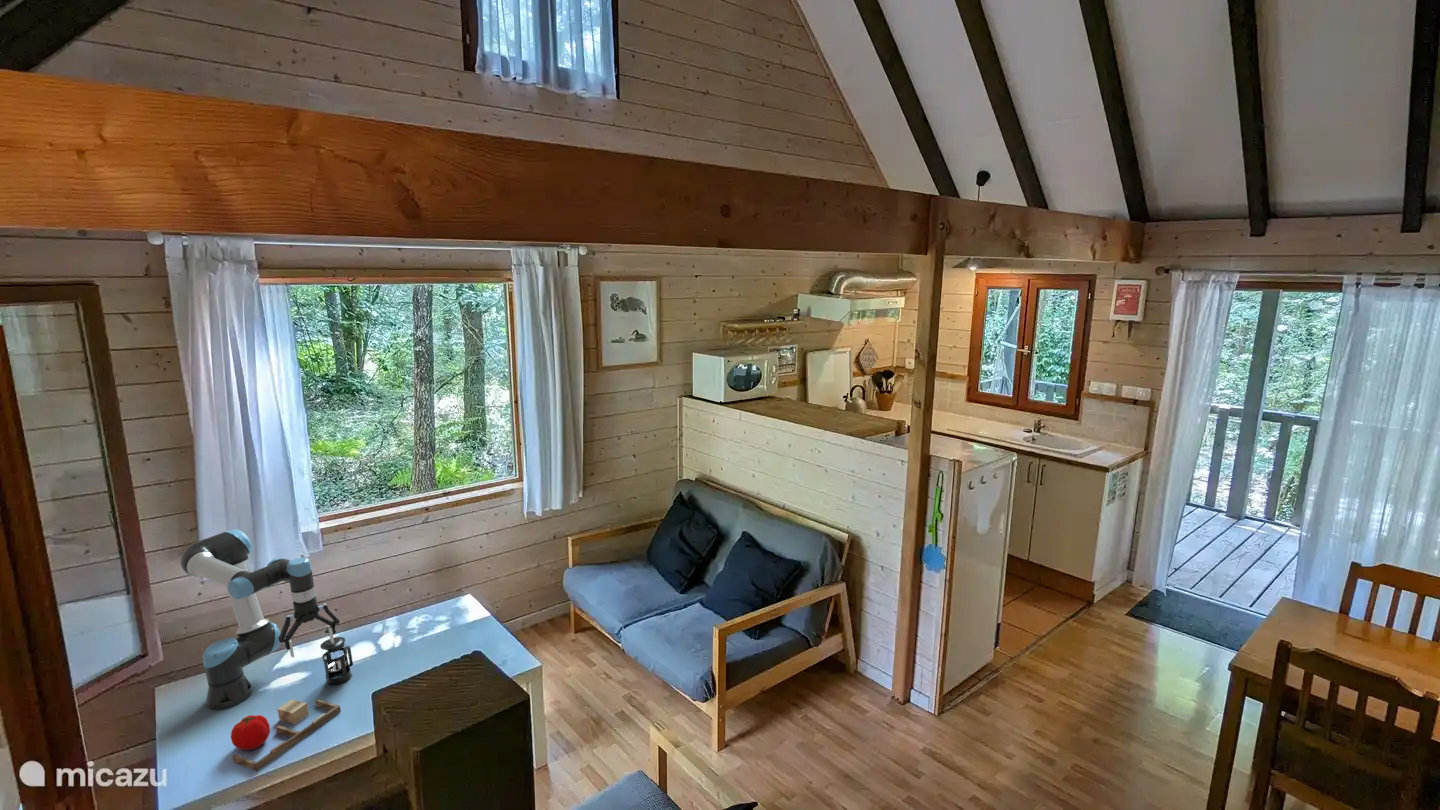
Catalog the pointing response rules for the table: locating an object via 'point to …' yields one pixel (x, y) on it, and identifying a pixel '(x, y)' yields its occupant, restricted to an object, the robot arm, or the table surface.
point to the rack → (290, 733)
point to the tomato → (250, 732)
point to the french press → (336, 661)
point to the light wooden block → (293, 711)
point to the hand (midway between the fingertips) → (312, 648)
